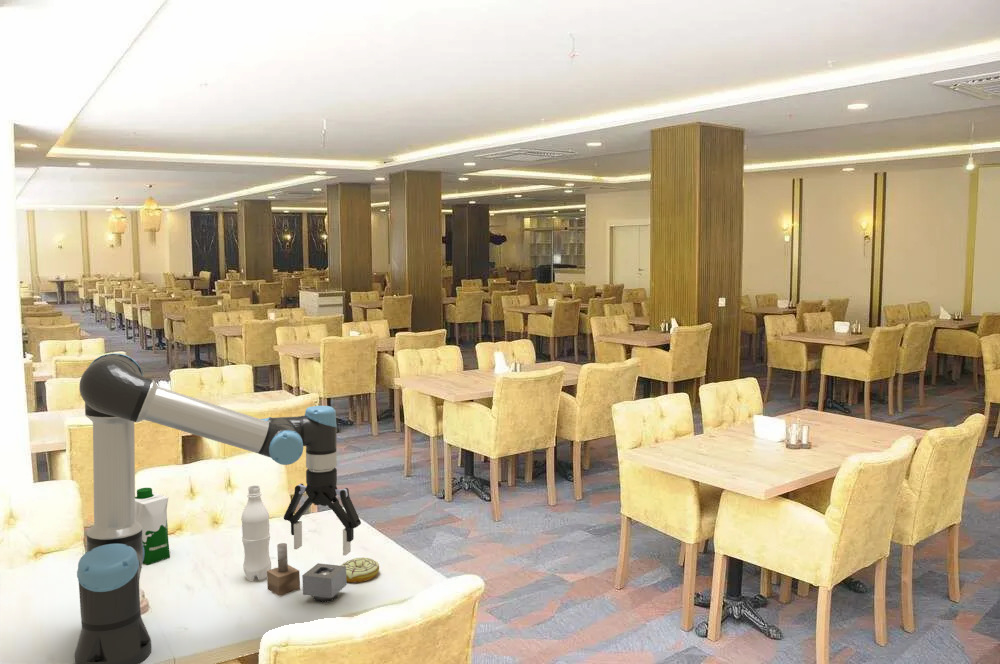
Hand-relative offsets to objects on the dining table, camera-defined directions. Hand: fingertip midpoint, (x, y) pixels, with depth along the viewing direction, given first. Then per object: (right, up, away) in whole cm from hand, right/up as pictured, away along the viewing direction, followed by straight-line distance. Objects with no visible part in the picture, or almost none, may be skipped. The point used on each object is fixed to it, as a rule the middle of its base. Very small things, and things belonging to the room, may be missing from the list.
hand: (322, 550), depth 204 cm
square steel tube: (0, -10, +1) cm, 10 cm away
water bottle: (-21, -11, +14) cm, 28 cm away
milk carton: (-55, -10, +28) cm, 63 cm away
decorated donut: (+7, -11, +15) cm, 20 cm away
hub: (+1, -12, +1) cm, 12 cm away
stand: (-11, -12, +7) cm, 18 cm away
